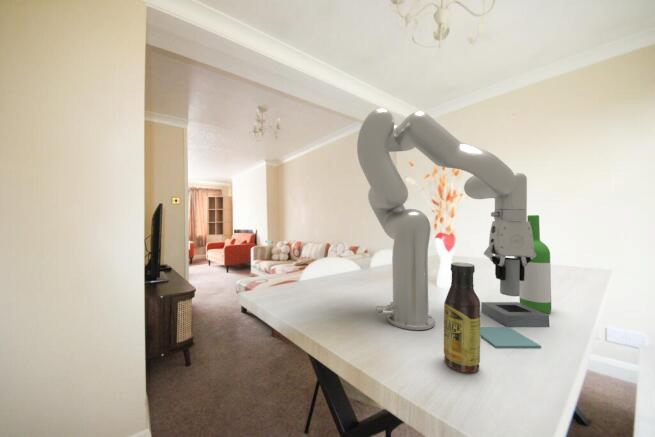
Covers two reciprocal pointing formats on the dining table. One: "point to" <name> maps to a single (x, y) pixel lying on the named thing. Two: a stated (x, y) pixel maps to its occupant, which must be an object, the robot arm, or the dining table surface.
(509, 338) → the mat
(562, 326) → the dining table surface
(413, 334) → the dining table surface
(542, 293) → the wine bottle
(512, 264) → the grey cylinder
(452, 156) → the robot arm
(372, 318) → the dining table surface
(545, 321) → the socket block
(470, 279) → the sauce bottle
